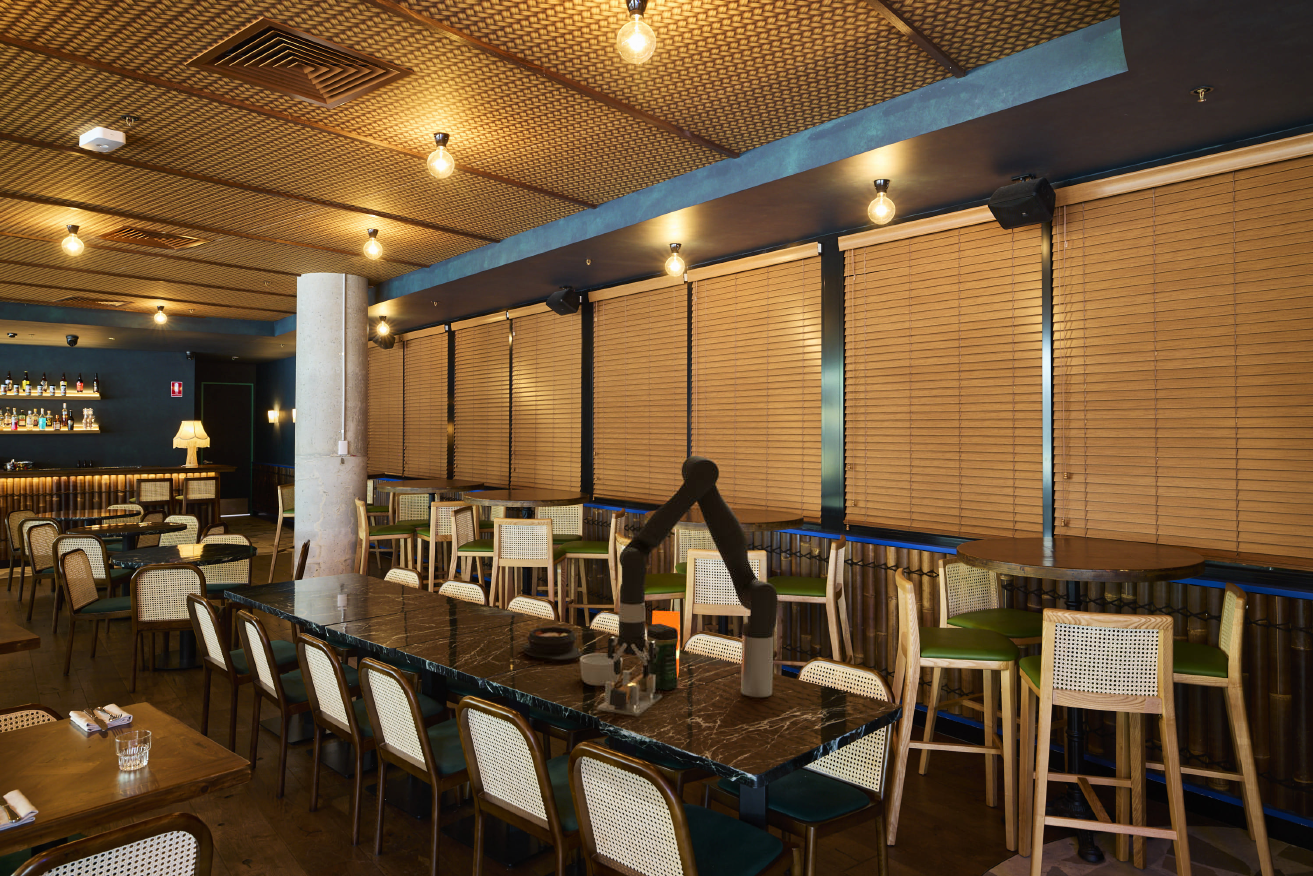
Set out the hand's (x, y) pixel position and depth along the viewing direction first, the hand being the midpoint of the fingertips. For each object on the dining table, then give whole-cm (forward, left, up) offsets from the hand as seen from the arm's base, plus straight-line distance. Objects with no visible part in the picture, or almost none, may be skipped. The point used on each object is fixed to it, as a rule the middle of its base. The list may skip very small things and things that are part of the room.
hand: (631, 675), depth 223 cm
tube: (0, 0, -6) cm, 6 cm away
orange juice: (-32, -2, -8) cm, 33 cm away
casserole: (-35, -45, -8) cm, 57 cm away
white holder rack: (0, 0, -8) cm, 8 cm away
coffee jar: (-19, +2, -8) cm, 20 cm away
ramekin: (-16, -17, -8) cm, 24 cm away
